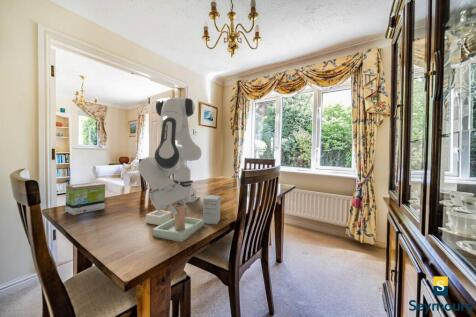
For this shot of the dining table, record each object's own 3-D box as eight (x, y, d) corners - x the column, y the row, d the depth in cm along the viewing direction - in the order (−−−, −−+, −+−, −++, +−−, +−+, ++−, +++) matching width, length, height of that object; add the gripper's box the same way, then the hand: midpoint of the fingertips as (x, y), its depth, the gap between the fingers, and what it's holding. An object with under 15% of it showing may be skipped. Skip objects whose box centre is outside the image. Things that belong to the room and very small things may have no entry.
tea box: (73, 215, 102) (74, 187, 101) (65, 212, 107) (65, 184, 106) (105, 208, 115) (105, 183, 114) (96, 205, 120) (96, 181, 119)
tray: (178, 221, 99) (178, 215, 99) (203, 225, 95) (203, 219, 95) (152, 236, 82) (152, 229, 82) (182, 242, 78) (182, 234, 78)
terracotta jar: (178, 226, 91) (178, 204, 90) (186, 227, 90) (186, 205, 89) (172, 229, 87) (172, 207, 86) (181, 231, 86) (181, 208, 85)
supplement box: (206, 218, 105) (207, 194, 105) (220, 219, 104) (221, 195, 104) (202, 223, 98) (203, 197, 98) (216, 224, 97) (217, 199, 97)
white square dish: (157, 217, 104) (157, 209, 104) (171, 219, 102) (171, 211, 101) (145, 222, 96) (145, 214, 96) (160, 225, 94) (160, 216, 93)
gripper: (151, 186, 80) (171, 214, 77) (180, 180, 99) (197, 201, 97) (141, 196, 81) (161, 223, 79) (172, 188, 101) (189, 209, 98)
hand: (181, 211), depth 88 cm, fingers open, 5 cm apart
